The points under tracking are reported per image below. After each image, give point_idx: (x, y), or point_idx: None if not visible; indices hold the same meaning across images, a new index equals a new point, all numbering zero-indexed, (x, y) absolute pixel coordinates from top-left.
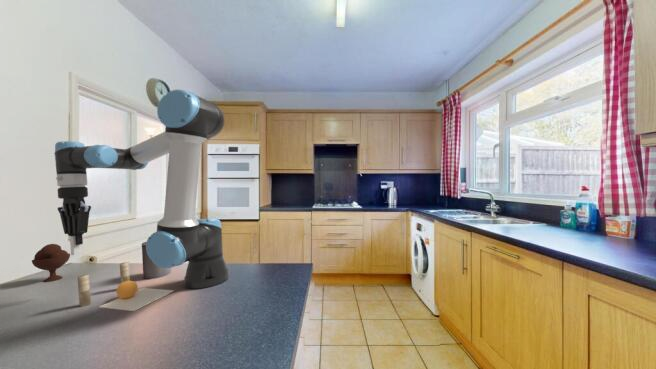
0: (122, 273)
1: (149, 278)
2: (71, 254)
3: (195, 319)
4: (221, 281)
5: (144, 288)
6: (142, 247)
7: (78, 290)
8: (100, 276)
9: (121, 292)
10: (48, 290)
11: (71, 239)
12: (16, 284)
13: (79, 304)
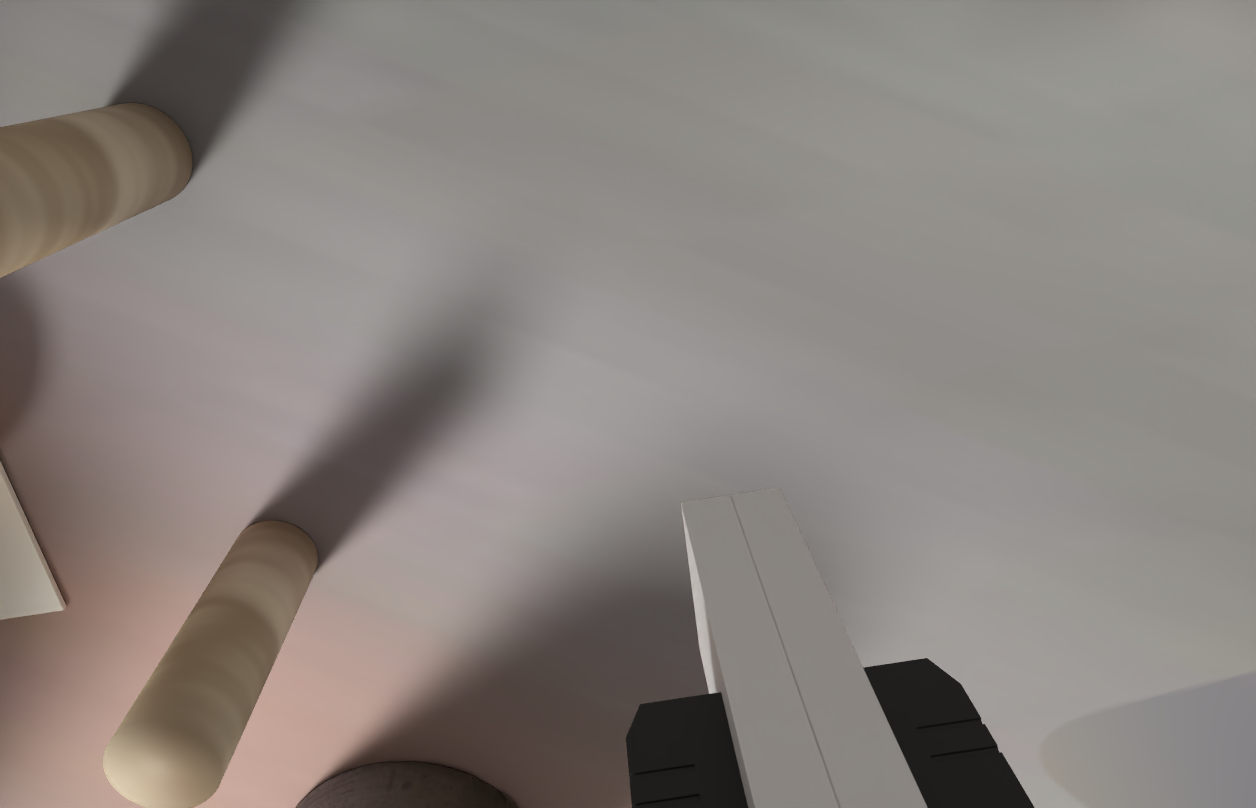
0: (178, 641)
1: (346, 774)
2: (765, 494)
3: None
4: None
5: (26, 609)
6: None
7: (41, 123)
8: (1059, 650)
9: None
10: (1218, 230)
11: (836, 770)
12: None
13: (127, 104)
